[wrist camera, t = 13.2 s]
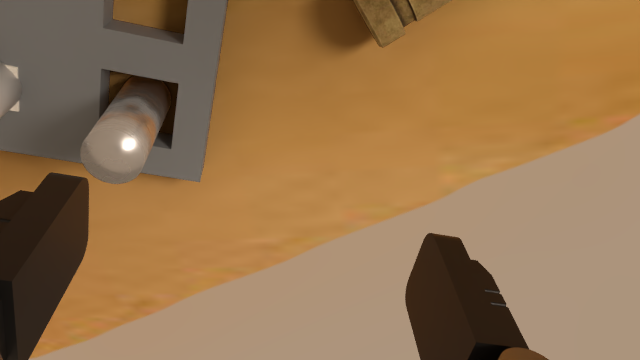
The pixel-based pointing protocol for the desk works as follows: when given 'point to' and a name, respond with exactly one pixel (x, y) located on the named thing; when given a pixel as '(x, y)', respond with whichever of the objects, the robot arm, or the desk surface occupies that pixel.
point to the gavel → (394, 16)
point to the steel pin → (126, 131)
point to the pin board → (103, 77)
